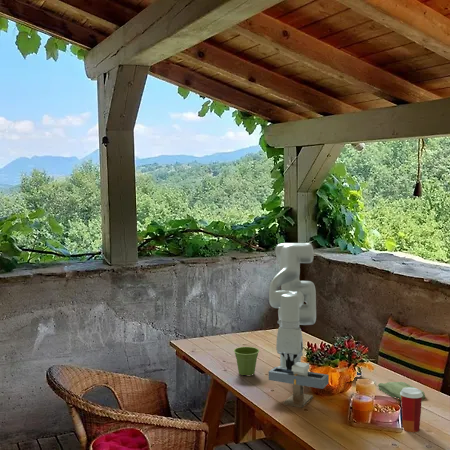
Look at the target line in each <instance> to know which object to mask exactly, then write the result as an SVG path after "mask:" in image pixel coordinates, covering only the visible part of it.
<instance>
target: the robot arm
mask: <svg viewBox="0 0 450 450" xmlns="http://www.w3.org/2000/svg"><path fill="white" fill-rule="evenodd" d="M274 249H275V252H274V253H275V257H276V260H277V263H278V266H279V268H280V270H279V272H277V273H276V275H275V276H273V278H272V280H271V281H270V283H269V289H268V290H269V294H268V295H269V296H268V302H269V306H271V307H272V308H274V309H278V310H277V314H278V320H277V322H276V323H277V324H278V325H279V327H278V328H277V335H276V347H275V348H276V351H277V354H279V356H280V358H279V361H280V364H279V365H278V366H277V367H281V368H287V370H292V366H293V365H294V364H296V363H297V362H301V360H302V359H301V358H302V357H303V356H304V353H303V351H304V338H303V333H302V329H301V327H300V325H301V326H312V325H314V324H316V321H317V294H316V293H317V291H316V286H315V283H314V282H313V281H311V280H300V274H301V268H300V267H301V264H312V263H313V261H314V253H315V251H314V247H313V245H312V243H308V242H283V243H278V244H276V246H275V248H274ZM279 287H280V288H281V289H278V288H279ZM304 302H305V303H306V304H305V303H304Z"/></svg>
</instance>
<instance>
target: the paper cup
mask: <svg viewBox="0 0 450 450" xmlns="http://www.w3.org/2000/svg"><path fill="white" fill-rule="evenodd" d="M420 390H421V389H419V388H416V387H415V388H411V387H407V388H403V389H402V391H401V392H400V395H401V401H400V402H401V417H402V420H401V421H402V422H401V423H402V429H403V428H404V429H403V430H404V431H406V432H408V433H419V431H420V427H421V416H422V415H421V413H422V401H423V399H422V396H423V394H422V392H421V391H420Z"/></svg>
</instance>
